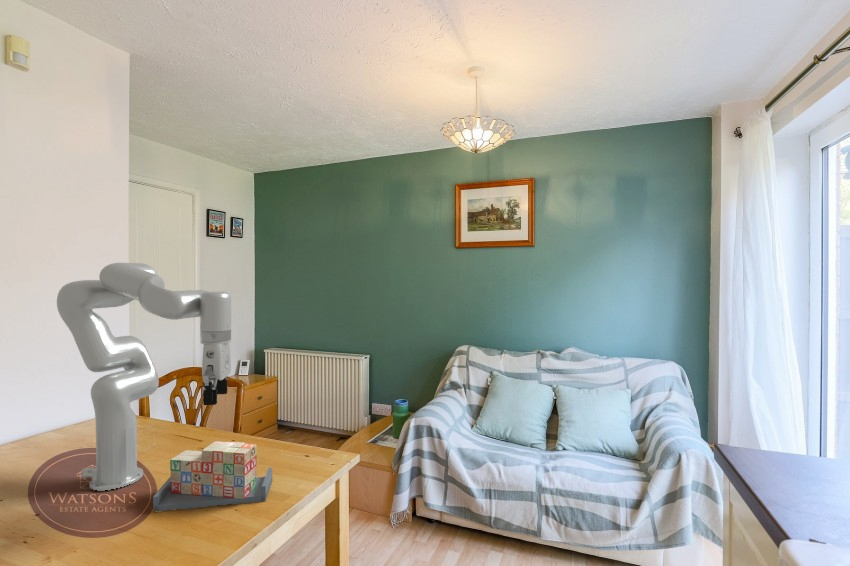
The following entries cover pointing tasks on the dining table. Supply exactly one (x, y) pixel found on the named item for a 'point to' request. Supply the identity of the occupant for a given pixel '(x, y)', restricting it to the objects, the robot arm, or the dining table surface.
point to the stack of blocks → (216, 470)
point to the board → (187, 501)
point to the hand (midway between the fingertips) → (215, 399)
